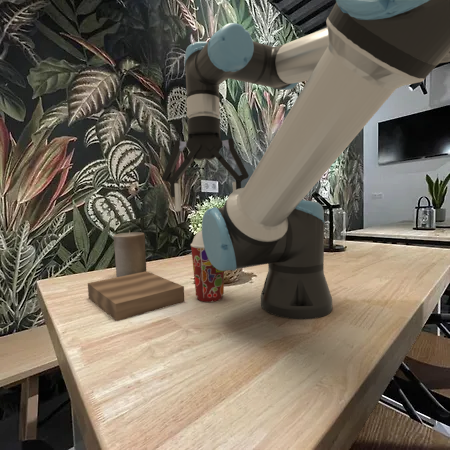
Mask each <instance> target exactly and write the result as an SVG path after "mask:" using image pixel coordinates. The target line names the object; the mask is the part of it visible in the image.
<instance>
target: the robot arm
mask: <svg viewBox="0 0 450 450" xmlns="http://www.w3.org/2000/svg"><path fill="white" fill-rule="evenodd" d="M325 22H326V27H324V28H322V29H320V30H316V31H314V32H312V33H310V34H307V35H304V36H302V37H299V38H296V39H294V40H292V41H288V42H287V43H283V44H281V45H280V44H279V45H278V46H271V45H268V44H264V43H260V42H258V41H254V40H253V38H252V35H251V34H250V32H249V31H248V30H247V29H245V28H244V26H243V25H242V24H239V23H238V22H237V23H236V22H229V23H226V24H225V25H223V26H222V27H221V28H220V29H218V30H217V31H216V32H214V33H213V34H212V36H211V37H210V38H209V40H208V41H195V42H193V43H191V44H189V45H188V46H187V48H186V49H185V56H184V57H185V58H184V59H185V61H184V69H185V85H186V88H185V89H186V116H187V118H188V120H187V140H186V141H180V140H178V139H175V140H174V145H173V151H172V153H171V155H170V158H169V160H168V163H167V165H166V166H165V168H164V172H163V174H162V176H161V180H162V181H164V182H167V183H168V184H169V185H170V187H169V188H170V197H171V198H174V202H175V204H174V205H175V207H174V208H175V212H181V211H182V204H181V203H182V202H181V201H182V200H181V199H182V198H181V183H177V182H179V180H180V178H182V176H183V175H184V173H185V172H186V171H187V169H188V168H190V166H191V165H192V163H193V162H194V161H195V160H197V161H203V160H207V161H212V160H214V159H215V158H216V160H217V161H218V162H219V163H220V164H221V166H222V167H223V168H224V169H225V170H226V172H228V173H229V174H230V175H231V176H232V178H233V180H235V181H232V192H231V193H230V194H229V195H228V197H227V199H226V201H225V202H224V204H223V206H222V207H217V206H213V207H211V208H208V209H206V210H205V212H204V213H203V216H202V219H201V220H202V221H201V230H202V238H203V244H204V248H205V251H206V254H207V257H208V259H209V261H210V262H211V264H212V265H213V266H214V267H215V268H216V269H218V270H220V271H224V272H225V271H237V270H240V269H246V268H247V269H248V268H250V267H257V266H262V265H268V270H267V273H266V276H265V280H264V284H263V287H262V291H261V294H260V305H261V308H262V309H263V311H265V312H267V313H269V314H271V315H275V316H277V317H281V318H285V319H290V320H312V319H319V318H322V317H326V316H327V315H329V314H330V313H331V312H332V311H333V297H332V294H331V292H330V288H329V285H328V281H327V278H326V275H325V271H324V270H325V269H324V265H325V264H324V260H325V259H324V258H325V253H324V252H325V224H326V220H325V217H324V215H325V214H324V207H323V206H322V204H321V203H320V202H317V201H313V200H307V199H305V197H306V196H307V195H308V194H309V192H310V191H311V190H312V189H313V188H314V186H315V185H316V184H317V183H318V182H319V181H320V179H321V178H322V177H323V176H324V175H325V174H326V172H327V171H328V170H329V169H330V167H332V165H333V164H334V163H335V161H336V160H337V159H338V158H339V157H340V156H341V155H342V153H343V152H344V151H345V150H346V149H347V148H348V146H349V145H350V144H351V143H352V141H353V140H354V139H355V138H356V137H357V136H358V135H359V133H361V131H362V130H363V129H364V128H365V126H366V125H367V124H368V122H370V120H371V119H372V118H373V117H374V116H375V114H376V113H377V112H378V111H379V110H380V108H381V107H383V105H384V104H385V103H386V101H387V100H388V99H389V98H390V97H391V96H392V95H393V93H394V92H395V91H396V90H397V89H399V88H401V87H403V86H408V85H413V84H417V83H422V82H423V81H424V80H426V78H427V77H428V76H429V74H431V72H432V71H433V70H434V69H435V68H436V67H437V66H438V65H439V64H443V63H449V62H450V0H335V4H334V6H333V8H332V9H331V11H330V13H329V15H328V16H327V18H326V21H325ZM228 79H229V80H234V81H238V82H243V83H248V84H254V85H260V86H263V87H267V88H268V87H269V88H273V89H274V90H285V91H290V90H292V89H294V88H295V86H297V85H298V84H299V83H301V82H305V84H304V86H303V88H302V90H301V91H300V93H299V94H298V97H297V98H296V99H295V101H294V103H293V104H292V106H291V108H290V110H289V112H288V113H287V114H286V116H285V118H284V120H283V122H282V123H281V125H280V127H279V129H278V130H277V132H276V134H275V135H274V137H273V138H272V140H271V142H270V143H269V146H268V147H267V149H266V151H265V152H264V154H263V155H262V157H261V159H260V160H259V162H258V164H257V166H256V167H255V168H254V170H253V172H252V174H251V176H250V177H249V173H248V171H247V169H246V167H245V166H244V164H243V161H242V159H241V157H240V156H239V153H238V152H237V150H236V148H235V143H234V138H231V137H230V138H228V139H225V140H222V139H221V121H220V119H219V118H220V117H221V115H220V114H221V111H220V109H221V108H220V106H221V105H220V85H221V84H222V83H224V81H226V80H228ZM223 147H225V149H226V150H229V153H230V154H231V156H232V158H233V160H234V162H235V164H236V166H237V168H238V170H239V172H240V174H241V175H239V174H238V173H237V172H236V171H235V169H234V168H233V167H232V166H231V165H230V164H229V162H228V161H226V158H224V157H223V156H222V154H221V153H220V151H221V149H222V148H223ZM185 148H187V149H188V150H189V153H188V154H187V156H186V158H185V159H184V160H183V162H182V163H181V165H179V167H178V168H177V169H176V171H175V172H174V169H175V168H176V165H177V162H178V160H179V159H180V156H181V154H182V152H183V151H184V150H185ZM247 179H248V181H247V183H246V184H245V186H244V187H242V182H243V181H244V180H247Z"/></svg>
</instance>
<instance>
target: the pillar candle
mask: <svg viewBox="0 0 450 450" xmlns="http://www.w3.org/2000/svg"><path fill="white" fill-rule="evenodd" d="M145 236H146V235H145V233H144V232H140V231H139V232H138V231H135V232H133V231H132V232H131V230H130V229H129V230H128V232H122V233H116V234H114V235H113V245H114V247H113V248H114V258H115V259H114V260H115V272H116V273H115V274H116V276H115V277H121V276H126V275H131V274H136V273H141V272H146V271H147V256H146V254H147V253H146V237H145Z"/></svg>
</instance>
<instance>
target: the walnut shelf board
mask: <svg viewBox="0 0 450 450" xmlns="http://www.w3.org/2000/svg"><path fill="white" fill-rule="evenodd" d="M87 292H88V293H87V294H88V299H89V300H90V301H91V302H92V303H94V304H95V305H96V306H97V307H99V309H101V310H102V311H104V312H105V313H106V314H107V315H108V316H110V317H111V318H112V319H113V320H115V321H116V322H118V321H123V320H125V319H130V318H133V317H137V316H139V315H143V314H147V313H150V312H154V311H157V310H161V309H165V308H167V307H172V306H174V305H179V304H182V303H185V286H184V285H181V284H179V283H176V282H174V281H172V280H170V279H166V278H164V277H161V276H159V275H156V274H155V273H152V272H150V271H148V270H146V272H141V273H136V274H131V275H126V276H121V277H117V276H115V277H111V278H106V279H102V280H95V281H91V282H87Z"/></svg>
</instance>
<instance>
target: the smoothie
mask: <svg viewBox="0 0 450 450" xmlns="http://www.w3.org/2000/svg"><path fill="white" fill-rule="evenodd" d="M190 248H191V258H192V259H191V260H192V267H193V277H194V278H193V280H194V289H195V296H197V299H198V301H200V302H207V303H210V302H211V301H213V302H217V301H220V300H221V299H222V296H223V295H224V291H225V290H224V289H225V288H224V287H225V286H224V285H225V271H220V270H218V269H216V268H215V267H214V266H213V265H212V264H211V262H210V261H209V259H208V257H207V254H206V251H205V248H204V244H203V238H202V229H201V230H200V231H198V232H197V233H196V234H195V235H194V237H193V239H192V242H191V243H190ZM219 299H220V300H219Z"/></svg>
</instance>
